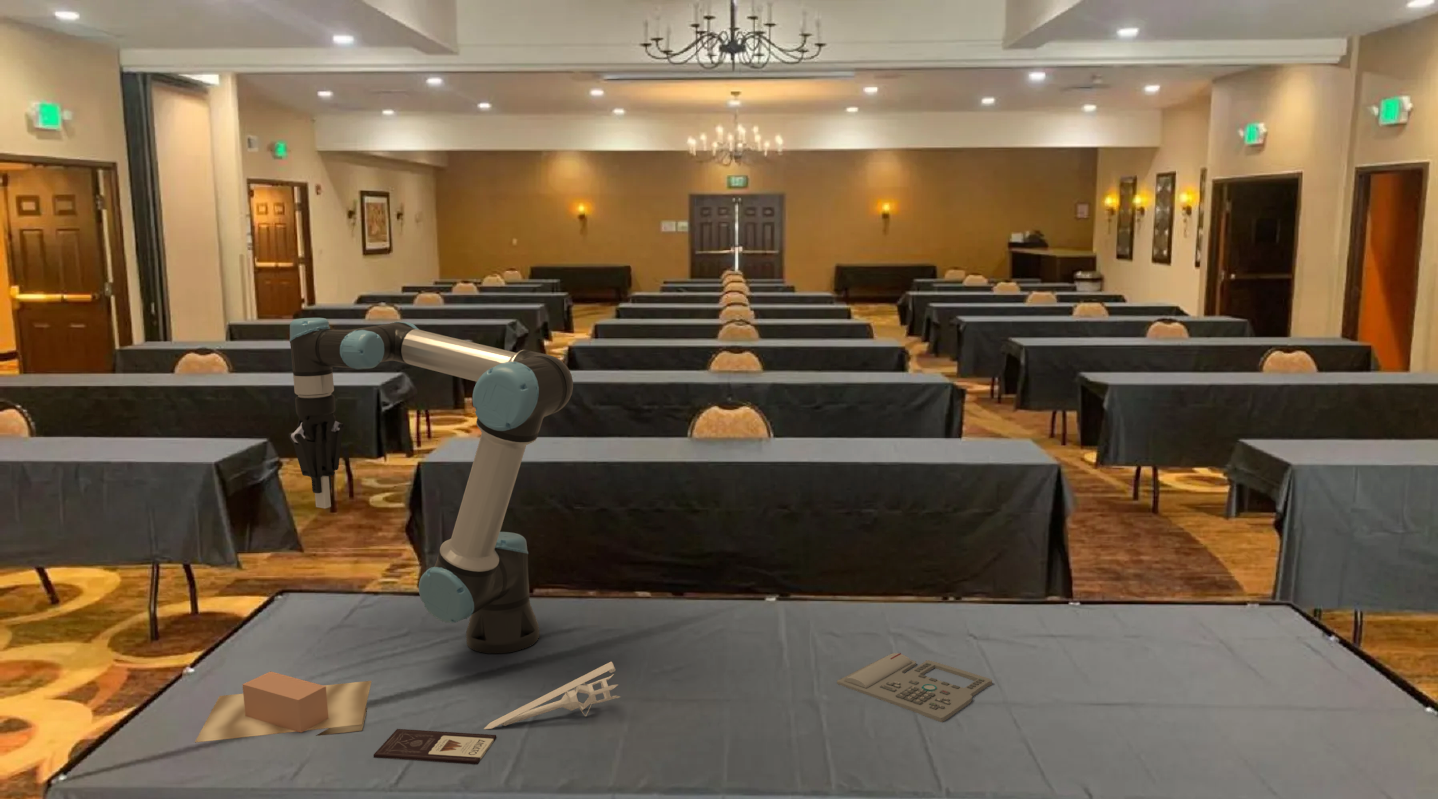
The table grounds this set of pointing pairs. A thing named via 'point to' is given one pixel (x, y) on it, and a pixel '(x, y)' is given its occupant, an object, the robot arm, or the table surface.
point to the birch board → (232, 723)
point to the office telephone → (915, 686)
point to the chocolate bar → (435, 746)
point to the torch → (563, 698)
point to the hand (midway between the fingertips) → (323, 506)
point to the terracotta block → (285, 701)
